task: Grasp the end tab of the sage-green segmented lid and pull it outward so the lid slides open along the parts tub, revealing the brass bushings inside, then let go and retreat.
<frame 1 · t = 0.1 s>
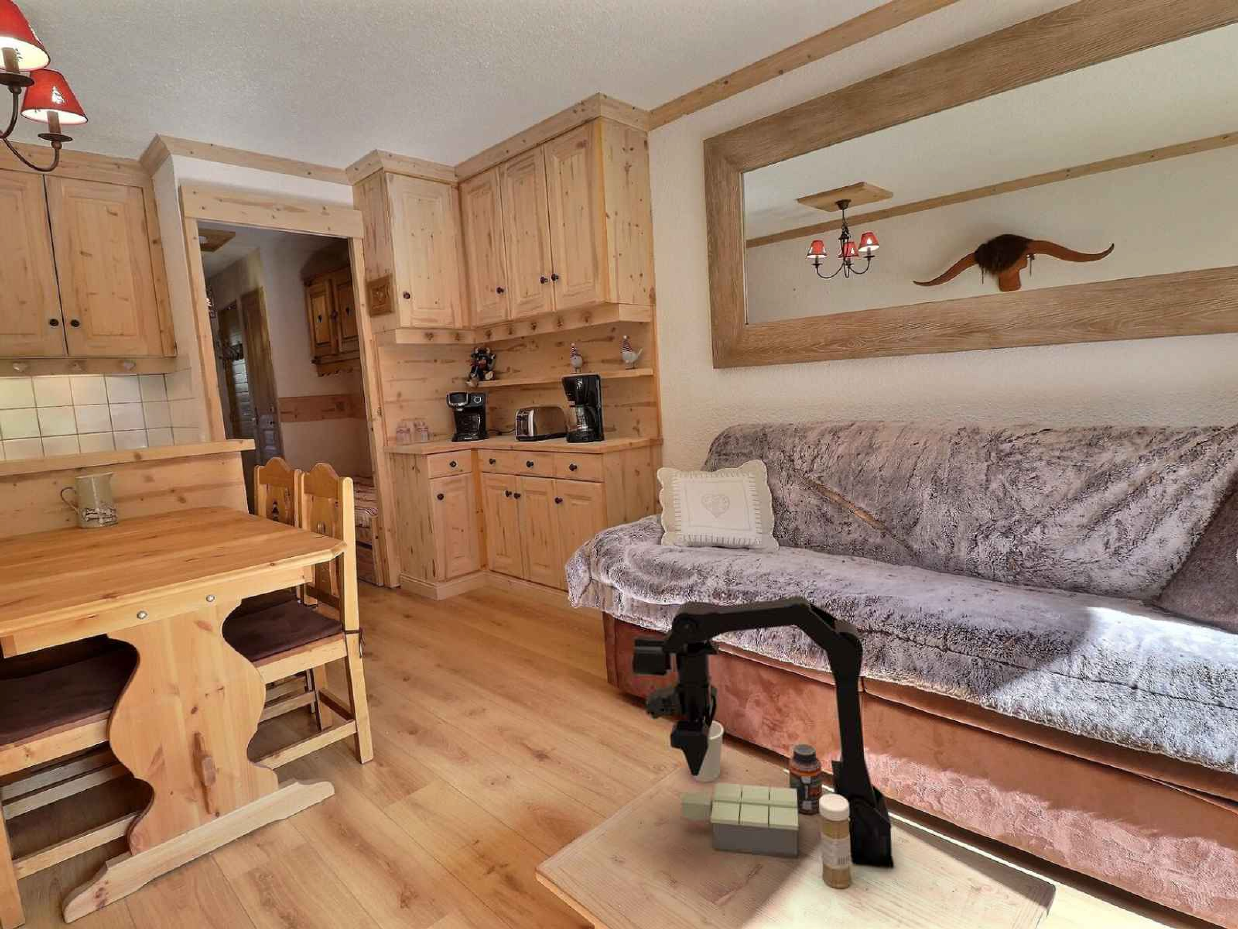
hand: (698, 760, 117), 15 cm above the table, fingers open, 9 cm apart
tub: (756, 835, 118), on the table
sprinkles bottle: (836, 881, 106), on the table
dixie cup: (705, 775, 138), on the table
supplement bottle: (806, 806, 125), on the table
lid: (739, 808, 118), point 5 cm above the table, slide at 0.0 cm
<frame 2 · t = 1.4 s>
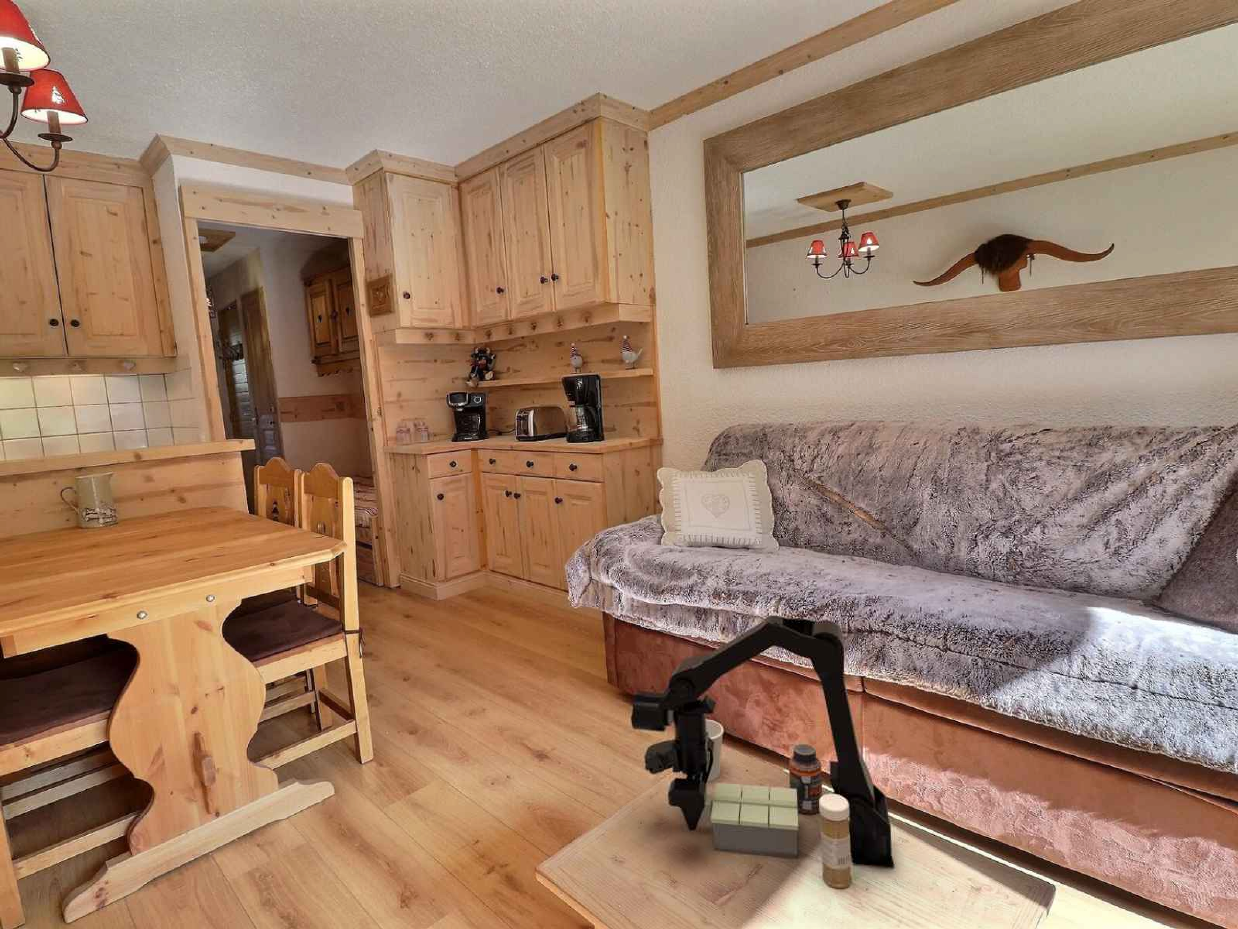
hand: (695, 814, 120), 3 cm above the table, fingers open, 9 cm apart
nothing on the table moved.
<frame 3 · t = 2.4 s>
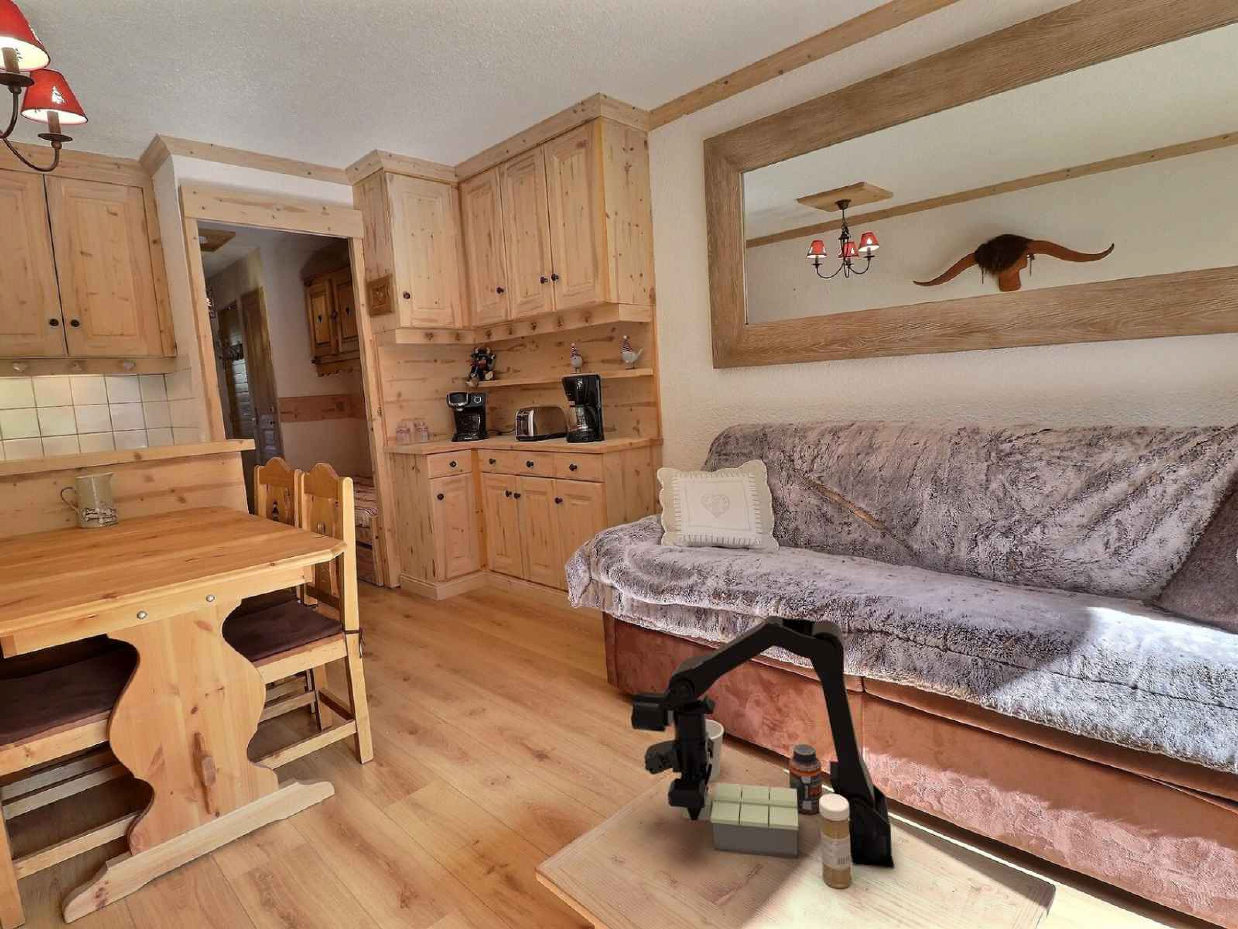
hand: (695, 814, 120), 3 cm above the table, fingers closed on lid, 3 cm apart
lid: (739, 808, 118), point 5 cm above the table, slide at 0.0 cm, touching gripper
everything else where it was.
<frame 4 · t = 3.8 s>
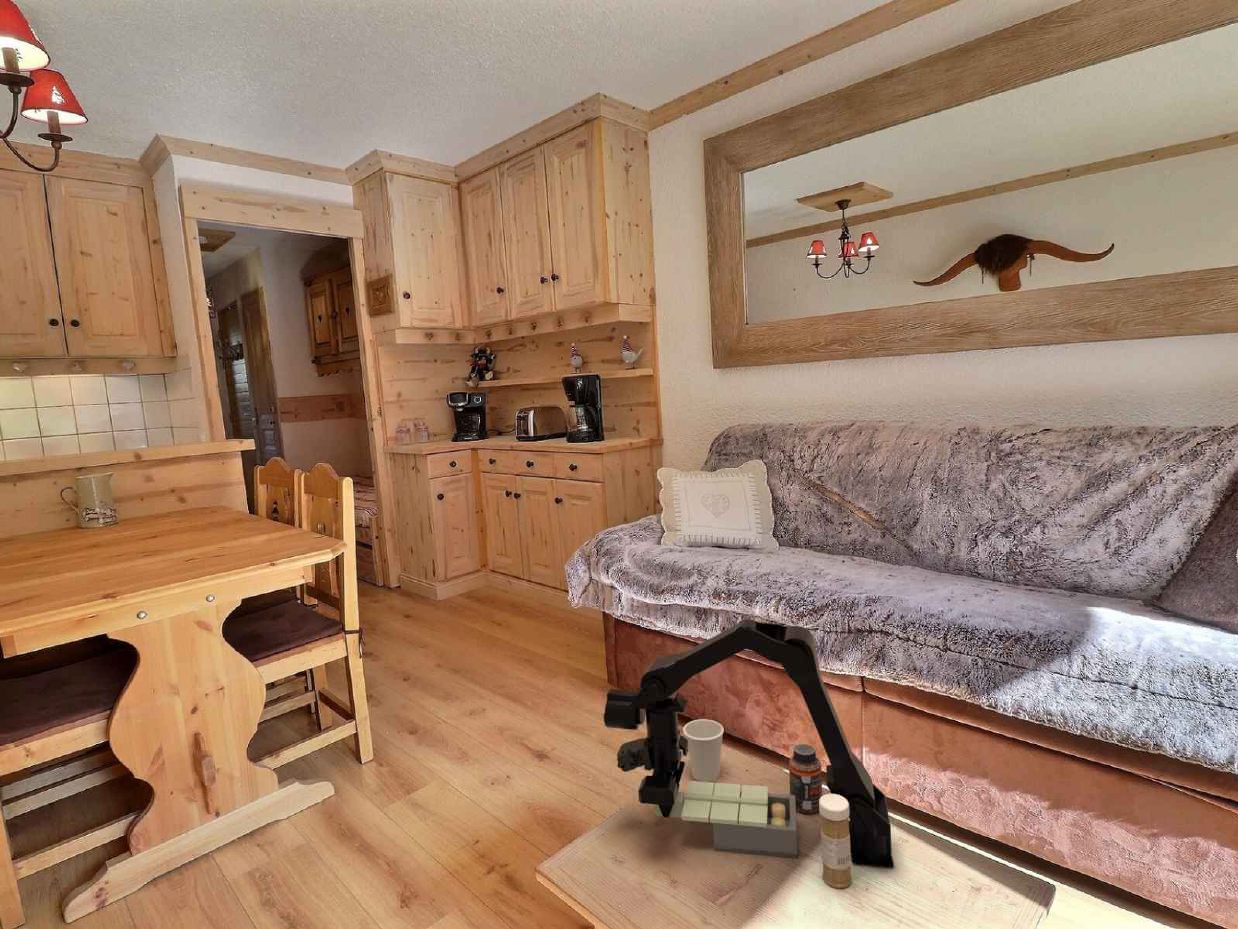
hand: (667, 811, 121), 3 cm above the table, fingers closed on lid, 3 cm apart
lid: (710, 806, 119), point 5 cm above the table, slide at 5.1 cm, touching gripper
everything else where it was.
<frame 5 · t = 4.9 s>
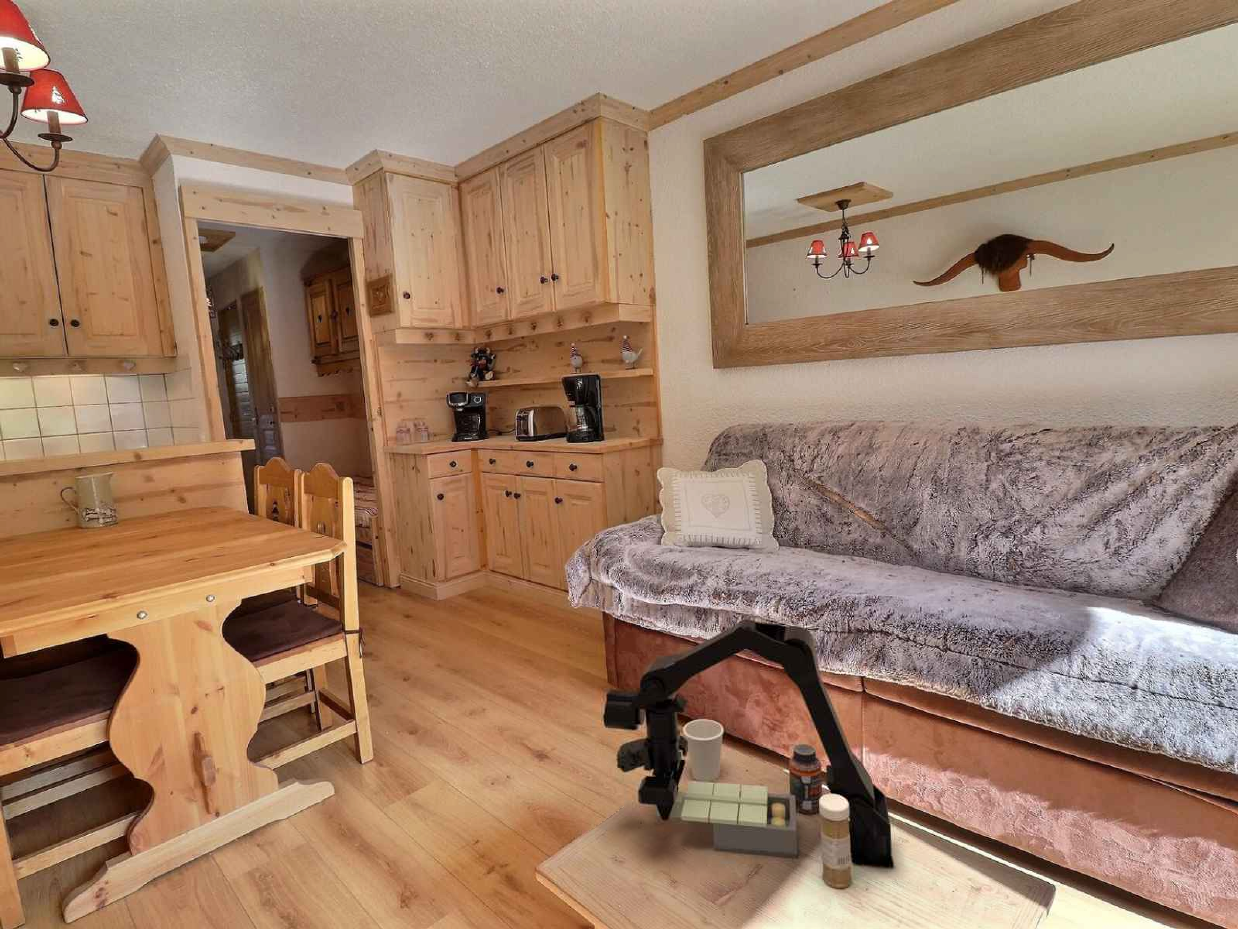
hand: (667, 811, 121), 3 cm above the table, fingers open, 5 cm apart
lid: (710, 806, 119), point 5 cm above the table, slide at 5.2 cm
everything else where it was.
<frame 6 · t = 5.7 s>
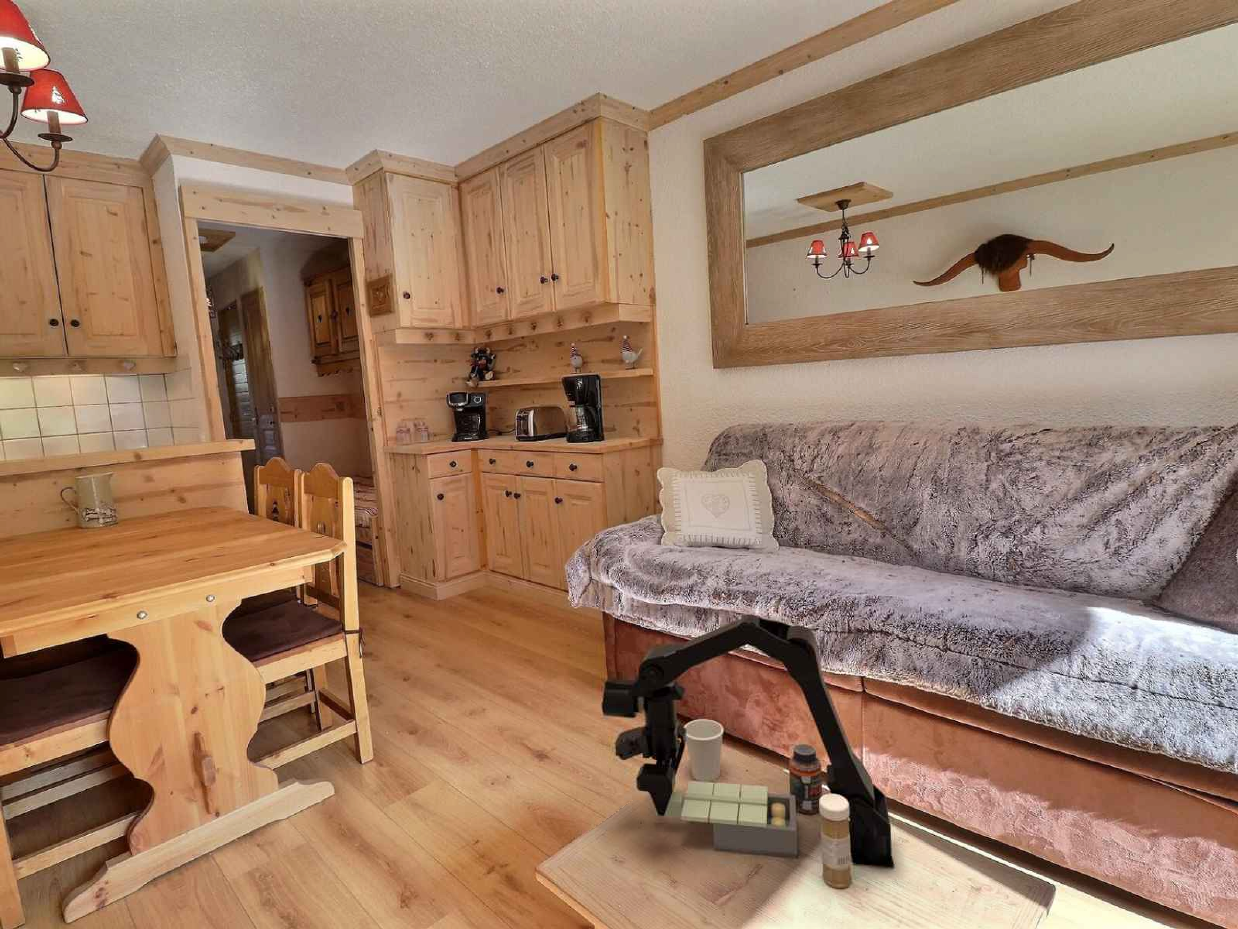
hand: (665, 799, 121), 5 cm above the table, fingers open, 9 cm apart
nothing on the table moved.
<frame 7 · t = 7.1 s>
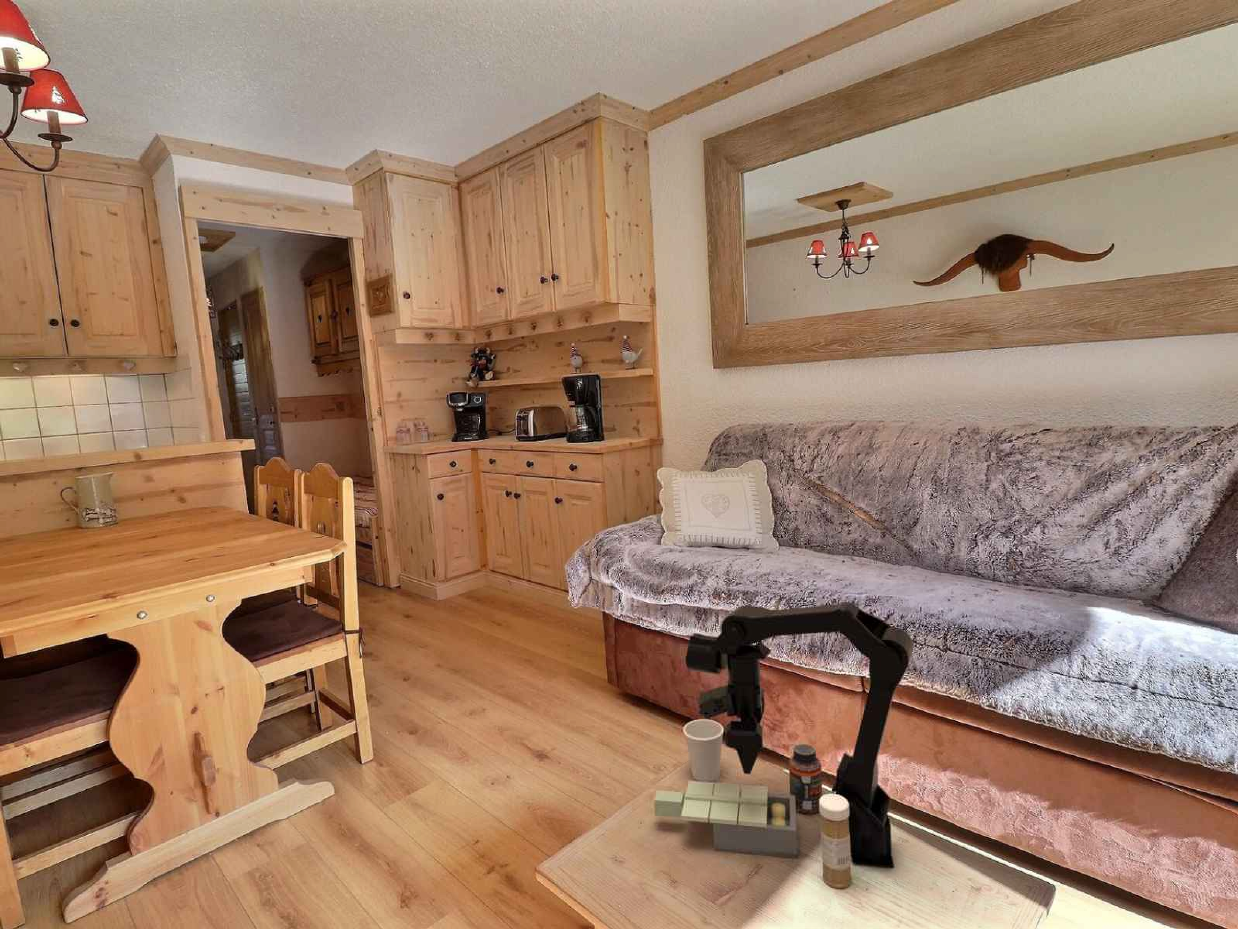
hand: (748, 759, 121), 12 cm above the table, fingers open, 9 cm apart
nothing on the table moved.
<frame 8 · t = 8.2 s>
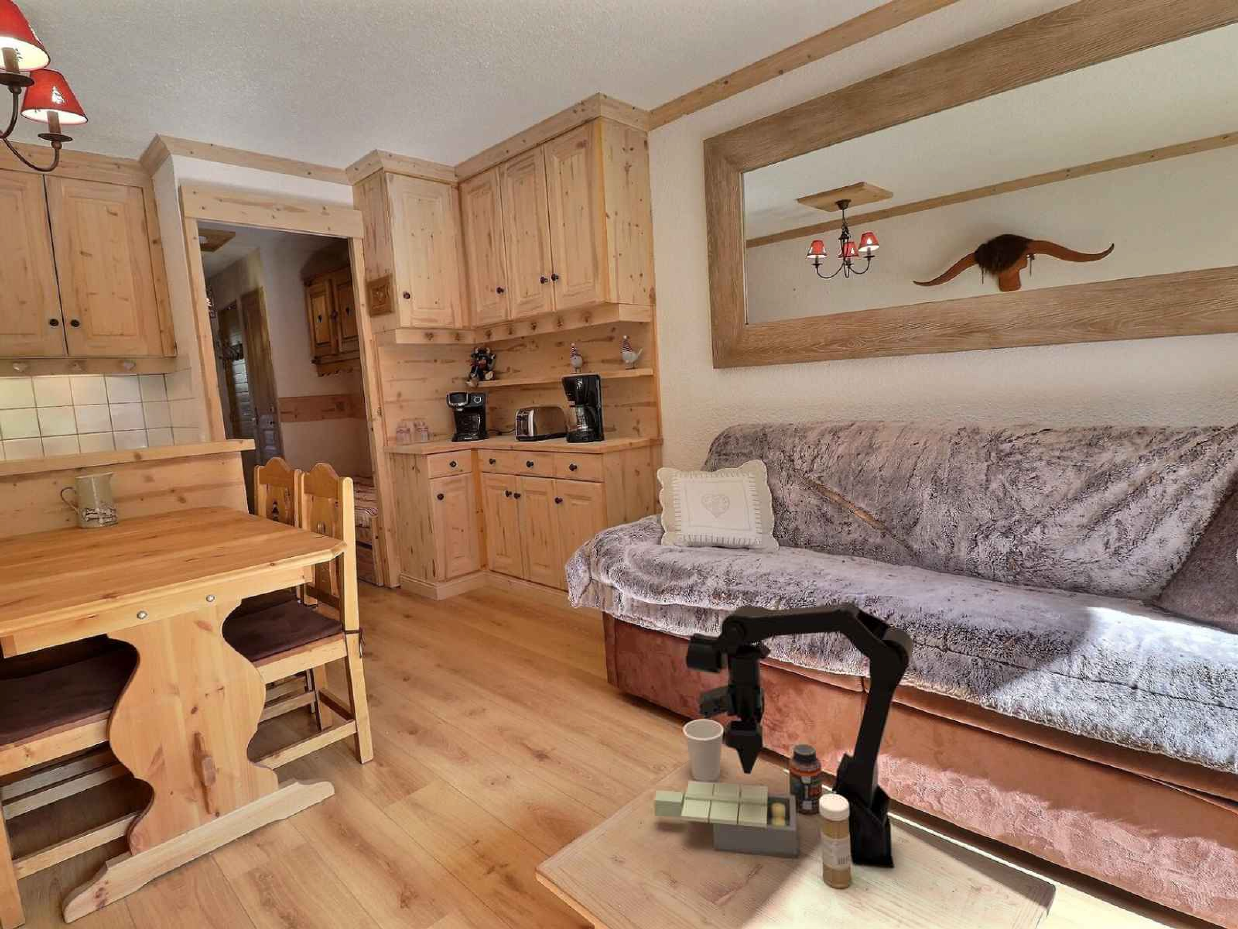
hand: (748, 759, 121), 12 cm above the table, fingers open, 9 cm apart
nothing on the table moved.
at the end: lid slide at 5.2 cm; the gripper is holding nothing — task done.
